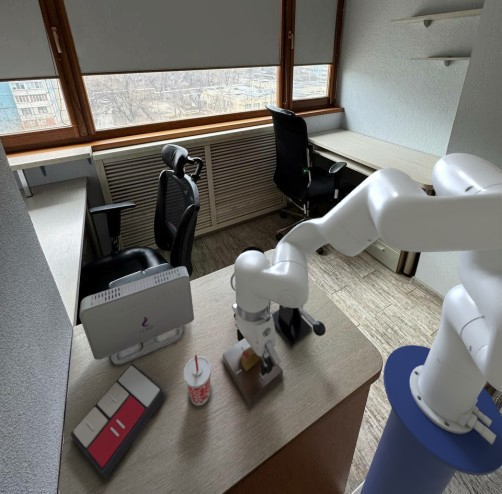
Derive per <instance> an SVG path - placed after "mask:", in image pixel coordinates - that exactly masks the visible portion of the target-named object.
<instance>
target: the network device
mask: <svg viewBox="0 0 502 494" xmlns="http://www.w3.org/2000/svg"><path fill="white" fill-rule="evenodd" d="M193 305H194V303H193V295H192V287H191V278H190V275H189V272H188V270H187V267H186V266H184V265H183V266H177V267H173V268H171V269H169V270H168V269H167V270H165V271H162V272H159V273H156V274H153V275H149V276H146V277H143V278H140V279H138V280H134V281H130V282H128V283H125V284H122V285H119V286H115V287H113V288H109V289H106V290H103V291H100V292H97V293H94V294H90V295H88V296H85V297H83V299H82V300H81V301H80V307H79V320H80V322H81V326H82V329H83V331H84V334H85V336H86V339H87V343H88V345H89V347H90V351H91V353H92V356H93V358H94V360H96V361H100V360H103V359H106V358H108V357H110V358H111V361H112V363H113V364H114V365H117V366H119V365H121V366H122V365H124V364H126V363H129V362H131V361H134V360H136V359H138V358H140V357H143V356H144V355H147V354H149V353H153V352H154V351H156V350H158V349H159V350H160V349H161V348H163V347H166V346H168V345H171V344H173V343H175V342H177V341H179V339H181V337H182V336H183V334H184V327H183V326H185V325H189V324H190V323H192V322H193V321H194V319H195V314H194V306H193ZM176 329H178V333H177V335H175V336H173V337H170V338H168V339H166V340H164V341H161V342H156V340H155V338H157V337H159V336H161V335H164V334H166V333H169V332H171V331H173V330H176ZM140 344H142V345H143V347H142V349H141V350H140V351H137V352H135V353H133V354H131V355H129V356H126V357H123V358H121V359H118V353H121V352H123V351H125V350H127V349H130V348H133V347H135V346H138V345H140Z"/></svg>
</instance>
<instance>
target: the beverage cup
mask: <svg viewBox="0 0 502 494" xmlns="http://www.w3.org/2000/svg"><path fill="white" fill-rule="evenodd" d="M211 364H212V363H211V361H210V360H209V359H208V358H207V357H205V356H203V355H197V354H195V355H194V357H192V358H191V359H189V361H187V363H186V365H184V369H183V379H184V382H185V383H186V386H187V390H188V393H189V397H190V401H191V403H192V404H193V405H195V406H202V405H204V404H206V403H207V402H208V400H209V398H210V396H211V395H210V394H211V377H212V376H211V375H212V365H211Z"/></svg>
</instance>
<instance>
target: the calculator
mask: <svg viewBox="0 0 502 494" xmlns="http://www.w3.org/2000/svg"><path fill="white" fill-rule="evenodd" d="M165 399H166V395H165V392H164V389H163V388H162V387H161V386H160V385H159V384H158V383H156V382H155V381H154V380H153V379H152V378H151V377H149V376H148V375H147V374H146V373H144V371H142V370H141V369H140V368H138V366H136V365H135V364H134V363H130V365H129V366H128V367H127V368H126V369H125V370H124V371H123V373H121V375H120V376H119V377H118V378H117V379H116V380H115V382H114V383H113V384H112V385H111V386H110V387H109V388H108V390H107V391H105V393H104V395H102V397H101V398H100V399H99V400H98V401H97V402H96V404H94V406H93V407H91V409H90V410H89V412H87V414H86V415H85V416H84V418H82V419H81V420H80V421H79V423H78V424H77V425H76V426H75V428H74V429H73V430H72V431H71V432H70V437H71V438H72V441H74V443H75V444H76V445H77V446H78V448H79V449H80V450H81V452H83V454H84V455H85V456H86V458H87V459H88V460H89V461H90V463H91V464H92V465H93V466H94V467H95V469H96V470H97V471H98V472H99V473H100V475H101V476H102V477H103V478H104V479H108V478H109V476H110V475H111V473H113V471H114V469H115V468H116V466H117V465H118V464H119V462H120V461H121V459H122V458H123V456H124V455H125V453H126V452H127V451H128V449H129V448H130V446H132V444H133V442H134V441H135V440H136V439H137V437H138V435H139V434H140V433H141V431H142V430H143V428H144V427H145V425H146V424H147V423H148V422H149V420H150V419H151V418H152V417H153V416H154V415H155V413H156V412H157V410H159V408H160V406H161V405H162V403H163V402H164V400H165Z"/></svg>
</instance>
